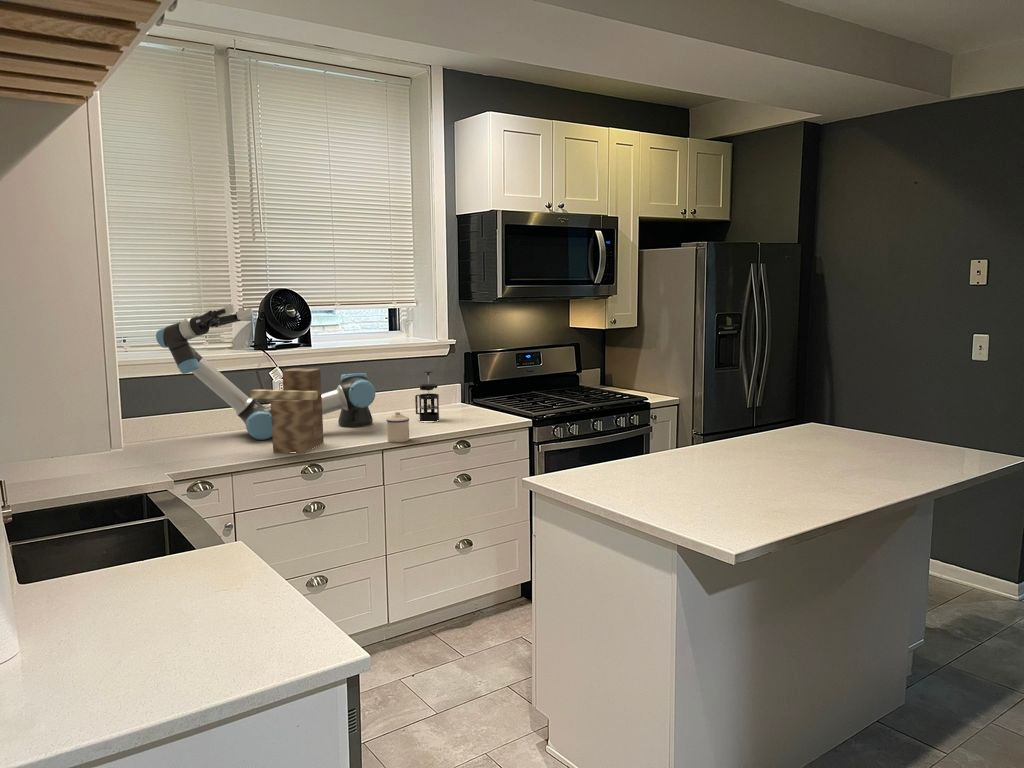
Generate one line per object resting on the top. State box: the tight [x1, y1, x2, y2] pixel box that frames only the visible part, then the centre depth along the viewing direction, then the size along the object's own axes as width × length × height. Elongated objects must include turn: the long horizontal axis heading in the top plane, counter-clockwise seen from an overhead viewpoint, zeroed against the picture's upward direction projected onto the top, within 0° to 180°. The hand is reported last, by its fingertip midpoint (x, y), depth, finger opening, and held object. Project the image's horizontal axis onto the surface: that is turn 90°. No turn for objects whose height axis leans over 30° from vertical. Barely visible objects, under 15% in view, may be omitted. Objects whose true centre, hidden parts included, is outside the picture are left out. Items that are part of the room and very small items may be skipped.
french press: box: [414, 370, 440, 422], centre depth 343 cm, size 12×9×23 cm
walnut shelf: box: [270, 367, 325, 454], centre depth 289 cm, size 12×18×30 cm, turn 169°
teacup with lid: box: [385, 411, 410, 443], centre depth 304 cm, size 12×9×12 cm
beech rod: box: [250, 389, 318, 400], centre depth 285 cm, size 26×3×3 cm, turn 79°
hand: (243, 309), depth 287 cm, fingers open, 13 cm apart
